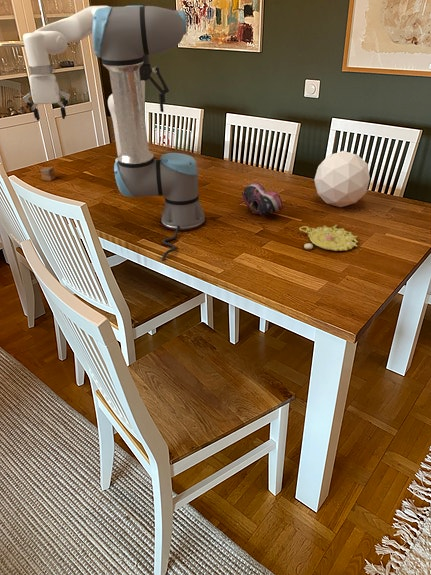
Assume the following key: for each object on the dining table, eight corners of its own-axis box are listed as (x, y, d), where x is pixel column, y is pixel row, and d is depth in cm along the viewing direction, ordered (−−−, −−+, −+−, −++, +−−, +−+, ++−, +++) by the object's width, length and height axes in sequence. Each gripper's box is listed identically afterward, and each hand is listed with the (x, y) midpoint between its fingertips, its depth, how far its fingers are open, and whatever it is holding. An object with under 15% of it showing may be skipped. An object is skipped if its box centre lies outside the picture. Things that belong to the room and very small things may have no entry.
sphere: (345, 225, 166) (360, 196, 147) (300, 198, 170) (308, 167, 152) (371, 189, 170) (388, 157, 152) (326, 164, 175) (337, 130, 156)
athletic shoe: (254, 181, 170) (227, 189, 167) (283, 176, 151) (253, 185, 147) (260, 210, 173) (234, 218, 170) (290, 209, 154) (261, 219, 150)
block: (47, 177, 202) (45, 166, 199) (55, 177, 201) (53, 167, 199) (42, 180, 199) (40, 169, 196) (51, 180, 198) (48, 170, 195)
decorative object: (343, 255, 128) (285, 234, 139) (342, 262, 130) (284, 241, 140) (372, 230, 142) (317, 213, 152) (371, 237, 143) (316, 219, 153)
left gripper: (65, 68, 169) (74, 115, 178) (18, 71, 166) (29, 118, 176) (63, 70, 163) (73, 119, 172) (14, 73, 160) (26, 122, 169)
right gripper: (169, 51, 173) (173, 108, 185) (104, 54, 167) (113, 113, 179) (173, 52, 167) (177, 111, 179) (106, 56, 161) (115, 117, 172)
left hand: (51, 119), depth 174 cm, fingers open, 9 cm apart
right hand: (145, 113), depth 179 cm, fingers open, 13 cm apart
